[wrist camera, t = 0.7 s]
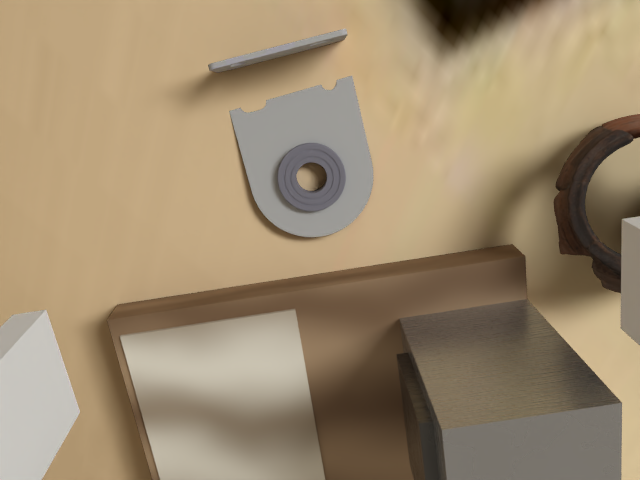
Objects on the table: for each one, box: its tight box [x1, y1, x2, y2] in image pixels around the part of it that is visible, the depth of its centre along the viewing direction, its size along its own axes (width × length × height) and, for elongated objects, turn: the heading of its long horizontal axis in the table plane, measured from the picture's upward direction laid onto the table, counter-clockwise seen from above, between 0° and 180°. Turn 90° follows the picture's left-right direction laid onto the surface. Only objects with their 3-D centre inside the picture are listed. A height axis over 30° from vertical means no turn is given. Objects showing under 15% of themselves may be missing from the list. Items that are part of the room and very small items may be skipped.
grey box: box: [396, 299, 622, 480], centre depth 29 cm, size 9×8×10 cm
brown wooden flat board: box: [107, 244, 527, 480], centre depth 35 cm, size 14×22×2 cm, turn 99°
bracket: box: [208, 29, 373, 237], centre depth 30 cm, size 7×10×4 cm, turn 14°
